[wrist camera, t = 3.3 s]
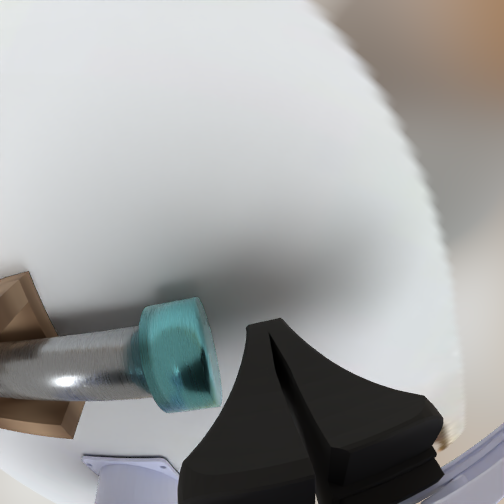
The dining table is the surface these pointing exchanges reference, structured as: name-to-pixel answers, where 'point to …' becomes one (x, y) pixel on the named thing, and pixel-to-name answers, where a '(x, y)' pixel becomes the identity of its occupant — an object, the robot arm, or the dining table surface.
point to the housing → (27, 328)
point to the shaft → (122, 362)
